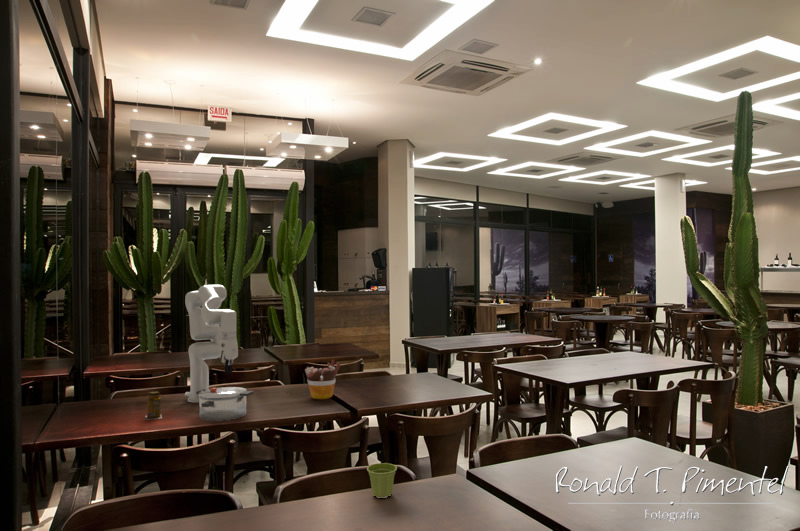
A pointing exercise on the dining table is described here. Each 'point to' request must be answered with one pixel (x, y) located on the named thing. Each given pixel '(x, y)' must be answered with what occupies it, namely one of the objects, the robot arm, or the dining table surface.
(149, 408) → the condiment
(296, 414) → the dining table surface
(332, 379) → the bucket of meat
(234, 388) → the cooker lid
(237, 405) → the cooker pot
